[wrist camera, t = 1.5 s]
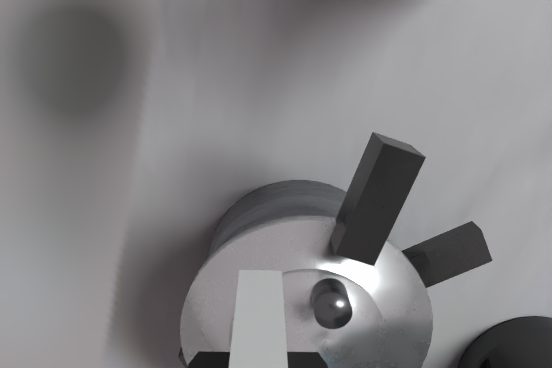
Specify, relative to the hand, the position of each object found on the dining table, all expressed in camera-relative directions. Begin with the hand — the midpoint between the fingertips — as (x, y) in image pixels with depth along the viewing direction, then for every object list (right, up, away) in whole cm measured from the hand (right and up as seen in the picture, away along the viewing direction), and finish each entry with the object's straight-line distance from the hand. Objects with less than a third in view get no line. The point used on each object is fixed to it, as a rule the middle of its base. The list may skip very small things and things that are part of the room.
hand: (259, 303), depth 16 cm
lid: (+4, -5, +19) cm, 20 cm away
